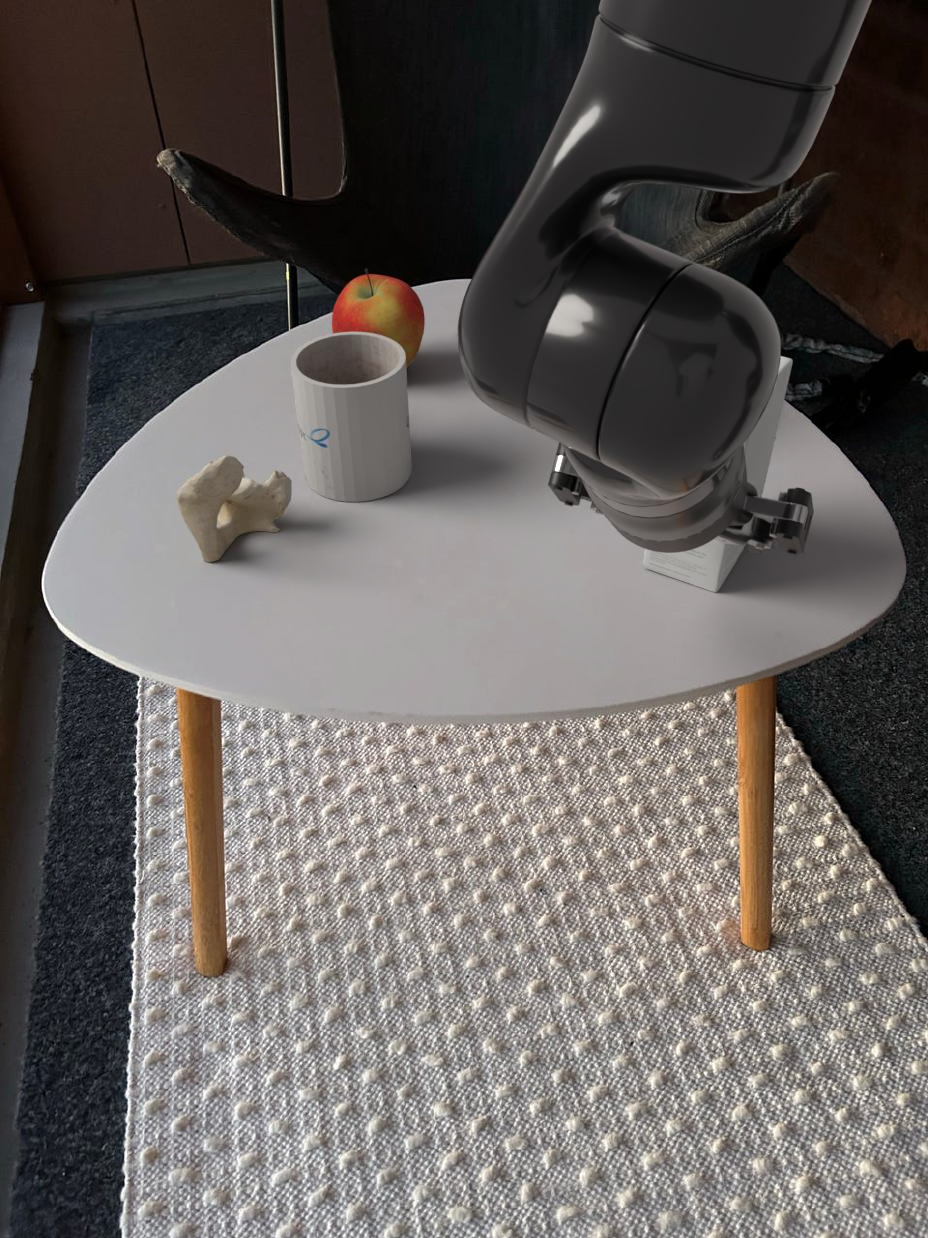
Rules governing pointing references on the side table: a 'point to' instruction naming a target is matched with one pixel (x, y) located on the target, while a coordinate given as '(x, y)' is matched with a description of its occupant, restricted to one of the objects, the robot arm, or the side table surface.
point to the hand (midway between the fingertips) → (689, 521)
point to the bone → (230, 504)
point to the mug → (353, 415)
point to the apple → (381, 311)
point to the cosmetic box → (719, 558)
